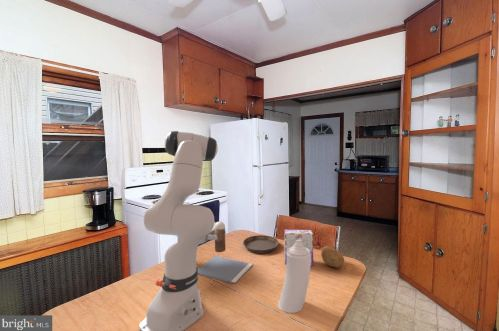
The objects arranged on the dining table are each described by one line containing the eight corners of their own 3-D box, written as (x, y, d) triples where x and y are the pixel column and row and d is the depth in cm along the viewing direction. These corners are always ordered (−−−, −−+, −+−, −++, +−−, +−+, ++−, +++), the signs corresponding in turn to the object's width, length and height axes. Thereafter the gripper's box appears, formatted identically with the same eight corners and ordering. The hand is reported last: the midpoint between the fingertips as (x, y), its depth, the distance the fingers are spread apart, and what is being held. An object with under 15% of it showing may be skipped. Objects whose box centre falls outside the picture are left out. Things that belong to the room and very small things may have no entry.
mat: (235, 283, 107) (235, 282, 107) (194, 273, 116) (194, 271, 116) (252, 265, 123) (252, 263, 123) (215, 256, 132) (215, 255, 132)
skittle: (221, 252, 116) (221, 224, 115) (213, 251, 118) (212, 222, 117) (227, 248, 121) (226, 220, 119) (218, 247, 123) (218, 219, 122)
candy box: (311, 260, 127) (311, 229, 126) (313, 266, 121) (313, 233, 120) (284, 259, 129) (284, 228, 127) (284, 265, 123) (284, 232, 121)
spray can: (289, 291, 101) (290, 232, 98) (314, 302, 94) (315, 238, 92) (274, 306, 92) (273, 241, 89) (299, 319, 85) (300, 249, 83)
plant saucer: (260, 258, 130) (260, 252, 130) (235, 247, 145) (235, 241, 145) (285, 247, 144) (285, 241, 144) (260, 237, 159) (260, 232, 159)
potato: (331, 274, 114) (331, 257, 113) (316, 260, 128) (316, 245, 127) (350, 271, 116) (350, 255, 115) (333, 258, 129) (334, 243, 129)
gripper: (184, 231, 115) (208, 236, 109) (209, 219, 133) (231, 222, 127) (184, 244, 115) (209, 250, 109) (209, 230, 134) (232, 234, 128)
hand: (221, 235), depth 119 cm, fingers closed on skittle, 5 cm apart
